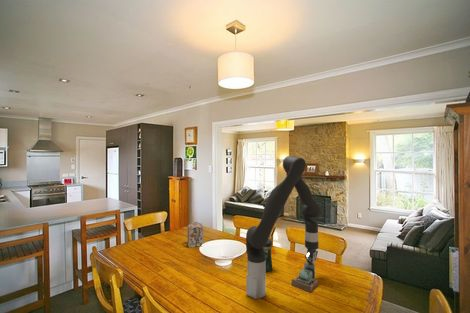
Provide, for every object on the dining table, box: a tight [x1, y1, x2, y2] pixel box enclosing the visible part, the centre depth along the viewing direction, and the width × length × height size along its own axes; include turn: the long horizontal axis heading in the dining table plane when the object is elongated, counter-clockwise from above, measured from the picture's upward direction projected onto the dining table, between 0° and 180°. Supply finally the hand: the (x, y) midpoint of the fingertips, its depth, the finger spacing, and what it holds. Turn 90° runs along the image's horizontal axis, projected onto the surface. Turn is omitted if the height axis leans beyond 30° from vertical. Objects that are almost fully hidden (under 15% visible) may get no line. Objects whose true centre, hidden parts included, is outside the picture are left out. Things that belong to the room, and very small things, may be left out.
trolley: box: [298, 261, 316, 285], centre depth 129 cm, size 9×6×9 cm, turn 139°
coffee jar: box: [263, 238, 273, 272], centre depth 146 cm, size 10×8×19 cm
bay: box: [291, 275, 319, 293], centre depth 127 cm, size 11×10×3 cm
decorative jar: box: [186, 221, 205, 248], centre depth 187 cm, size 12×12×18 cm
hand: (311, 269), depth 134 cm, fingers closed
